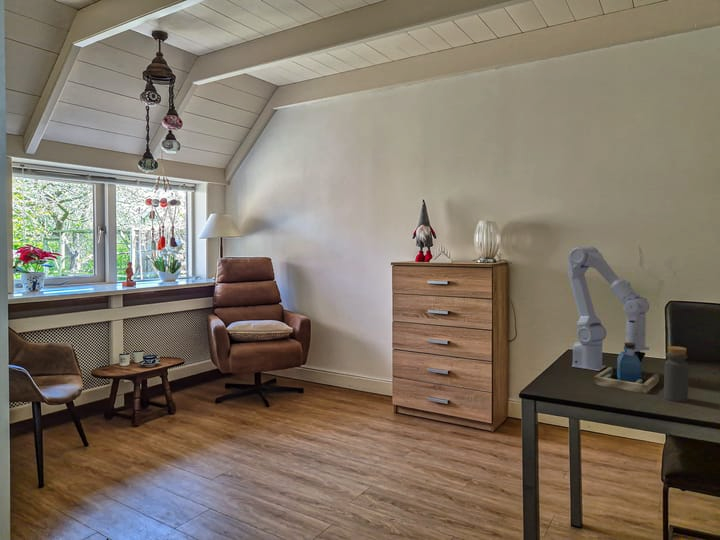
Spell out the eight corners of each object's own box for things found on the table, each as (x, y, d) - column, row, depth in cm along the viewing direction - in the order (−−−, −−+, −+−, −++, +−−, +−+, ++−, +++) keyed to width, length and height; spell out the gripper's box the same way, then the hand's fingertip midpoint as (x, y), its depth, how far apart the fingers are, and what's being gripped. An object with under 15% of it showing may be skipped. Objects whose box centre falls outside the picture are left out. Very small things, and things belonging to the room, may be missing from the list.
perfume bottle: (640, 382, 160) (642, 346, 159) (619, 381, 162) (620, 345, 161) (637, 376, 166) (638, 342, 165) (616, 375, 168) (617, 340, 167)
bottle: (659, 396, 146) (660, 345, 146) (677, 395, 147) (679, 345, 146) (673, 402, 140) (674, 350, 140) (692, 401, 141) (694, 349, 140)
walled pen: (593, 384, 159) (593, 376, 159) (609, 373, 171) (609, 367, 171) (646, 393, 149) (646, 385, 148) (658, 381, 161) (658, 374, 161)
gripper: (644, 337, 159) (643, 379, 159) (653, 331, 169) (653, 370, 170) (620, 335, 163) (619, 375, 164) (631, 329, 174) (630, 367, 175)
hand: (635, 373), depth 167 cm, fingers closed, pressing on perfume bottle
